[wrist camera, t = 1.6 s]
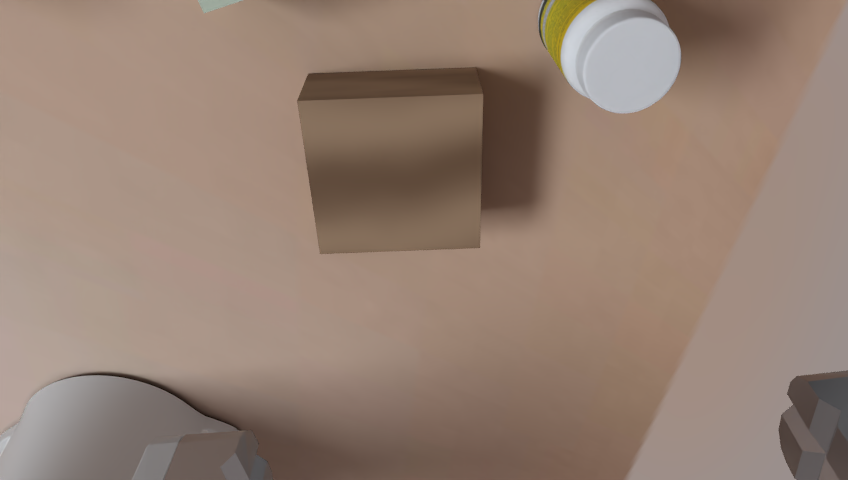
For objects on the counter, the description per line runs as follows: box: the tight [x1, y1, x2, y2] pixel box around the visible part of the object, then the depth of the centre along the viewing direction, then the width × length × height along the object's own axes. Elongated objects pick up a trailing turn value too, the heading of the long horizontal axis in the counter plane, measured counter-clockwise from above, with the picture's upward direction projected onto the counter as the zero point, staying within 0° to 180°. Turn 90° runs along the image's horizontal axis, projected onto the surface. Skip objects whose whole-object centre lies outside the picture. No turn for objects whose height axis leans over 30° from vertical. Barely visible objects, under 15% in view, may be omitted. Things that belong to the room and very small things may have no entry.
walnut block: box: [297, 67, 483, 254], centre depth 34 cm, size 9×9×4 cm
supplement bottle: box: [538, 0, 681, 113], centre depth 29 cm, size 5×5×8 cm
